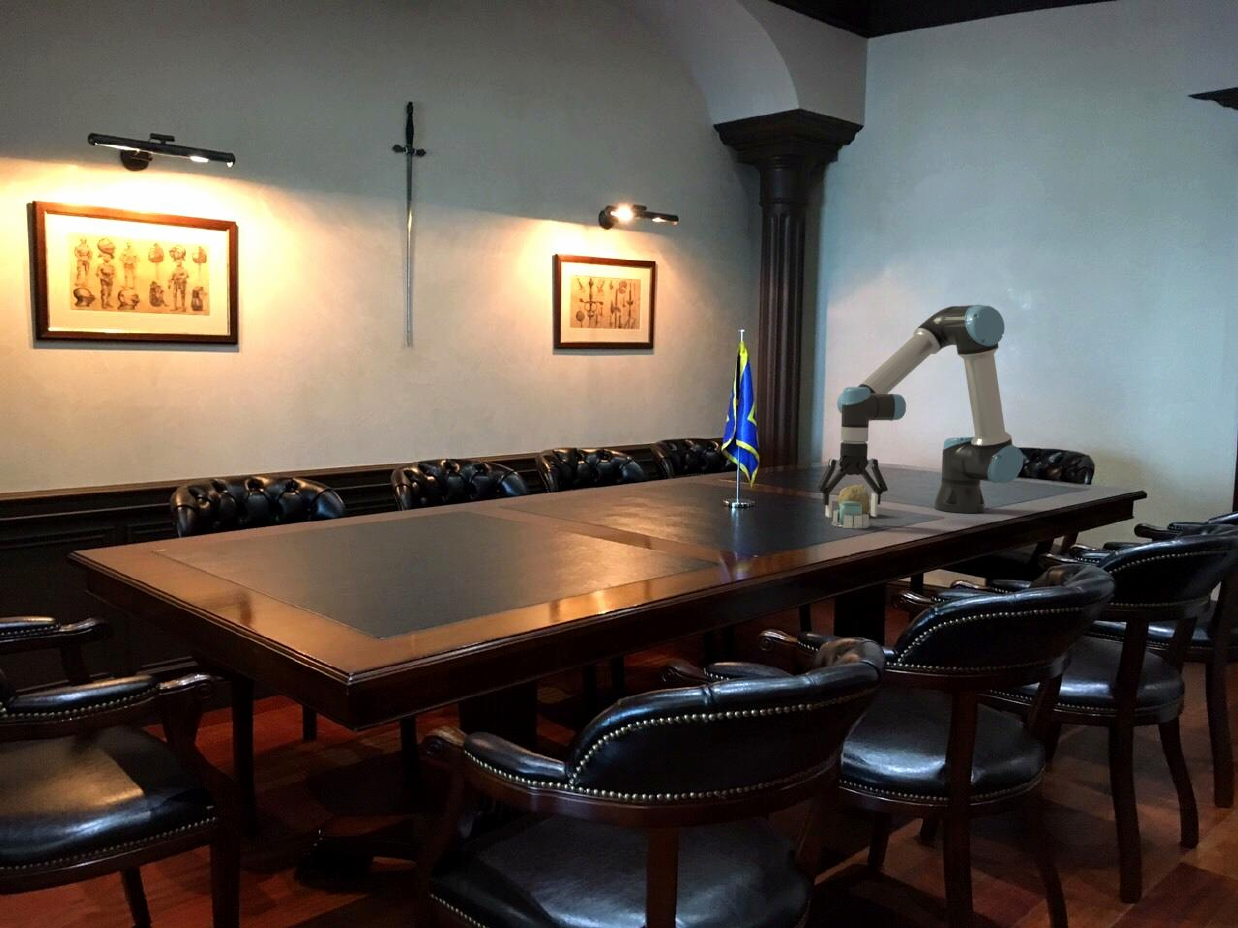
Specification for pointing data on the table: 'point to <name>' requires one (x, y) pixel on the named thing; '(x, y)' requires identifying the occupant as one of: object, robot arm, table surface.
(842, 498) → the coral
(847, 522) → the grey ring-shaped piece
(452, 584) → the table surface
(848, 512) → the teal rounded cylinder
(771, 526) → the table surface
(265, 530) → the table surface
